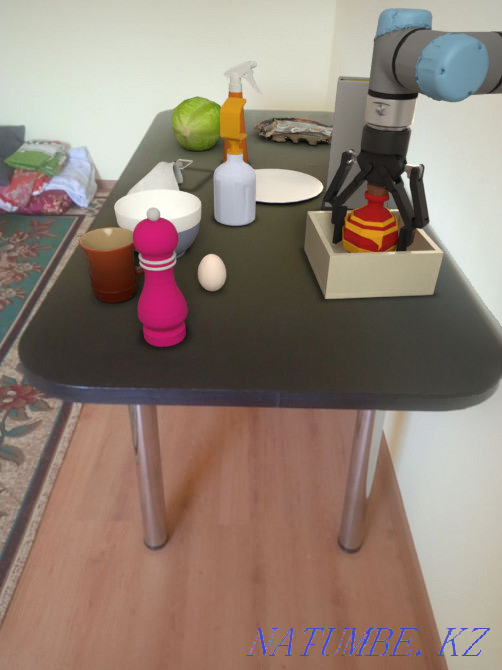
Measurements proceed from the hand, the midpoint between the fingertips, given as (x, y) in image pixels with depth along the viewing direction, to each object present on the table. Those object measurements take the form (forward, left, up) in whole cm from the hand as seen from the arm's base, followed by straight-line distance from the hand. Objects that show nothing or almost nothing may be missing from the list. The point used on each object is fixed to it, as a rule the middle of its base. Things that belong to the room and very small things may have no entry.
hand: (367, 251), depth 93 cm
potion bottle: (0, 0, -3) cm, 3 cm away
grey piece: (+92, -4, -4) cm, 92 cm away
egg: (-5, +28, -4) cm, 29 cm away
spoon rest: (+38, +39, -4) cm, 54 cm away
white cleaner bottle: (+26, +22, -4) cm, 34 cm away
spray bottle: (+66, +17, -4) cm, 68 cm away
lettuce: (+82, +28, -4) cm, 87 cm away
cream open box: (0, 0, -4) cm, 4 cm away
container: (+25, -5, -4) cm, 26 cm away
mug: (-5, +43, -4) cm, 43 cm away
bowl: (+11, +37, -4) cm, 39 cm away
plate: (+45, +11, -4) cm, 46 cm away
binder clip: (+54, +34, -4) cm, 64 cm away
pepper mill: (-18, +36, -4) cm, 41 cm away
